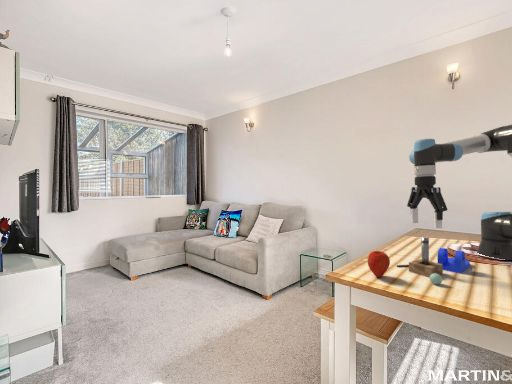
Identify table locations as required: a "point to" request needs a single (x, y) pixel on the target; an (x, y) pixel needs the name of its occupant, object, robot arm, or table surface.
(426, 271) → the square wooden ring
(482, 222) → the robot arm
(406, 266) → the thin dark grey rod
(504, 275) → the table surface
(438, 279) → the loose teal bead
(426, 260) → the grey metal cylinder rod
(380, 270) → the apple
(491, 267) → the table surface
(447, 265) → the bracket
